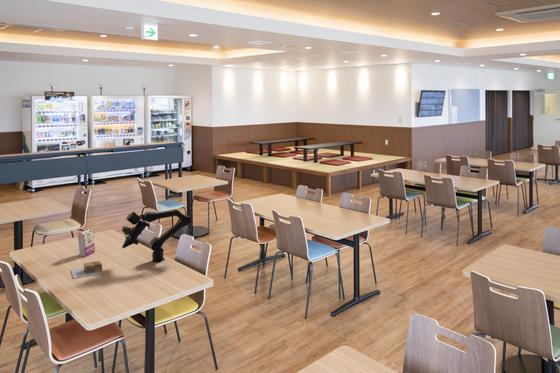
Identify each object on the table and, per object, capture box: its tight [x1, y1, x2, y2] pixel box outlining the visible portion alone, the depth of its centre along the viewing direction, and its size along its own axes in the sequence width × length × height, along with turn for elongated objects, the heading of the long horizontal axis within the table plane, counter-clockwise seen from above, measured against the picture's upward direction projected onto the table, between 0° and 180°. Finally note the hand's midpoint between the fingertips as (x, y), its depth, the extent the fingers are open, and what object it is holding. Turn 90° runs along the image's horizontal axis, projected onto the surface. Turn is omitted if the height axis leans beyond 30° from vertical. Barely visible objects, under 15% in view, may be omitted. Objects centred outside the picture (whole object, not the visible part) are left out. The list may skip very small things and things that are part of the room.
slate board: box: [70, 267, 102, 279], centre depth 302 cm, size 16×16×1 cm
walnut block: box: [83, 260, 103, 274], centre depth 304 cm, size 4×7×10 cm
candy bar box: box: [77, 229, 96, 258], centre depth 336 cm, size 11×5×16 cm, turn 168°
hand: (122, 247), depth 311 cm, fingers closed
